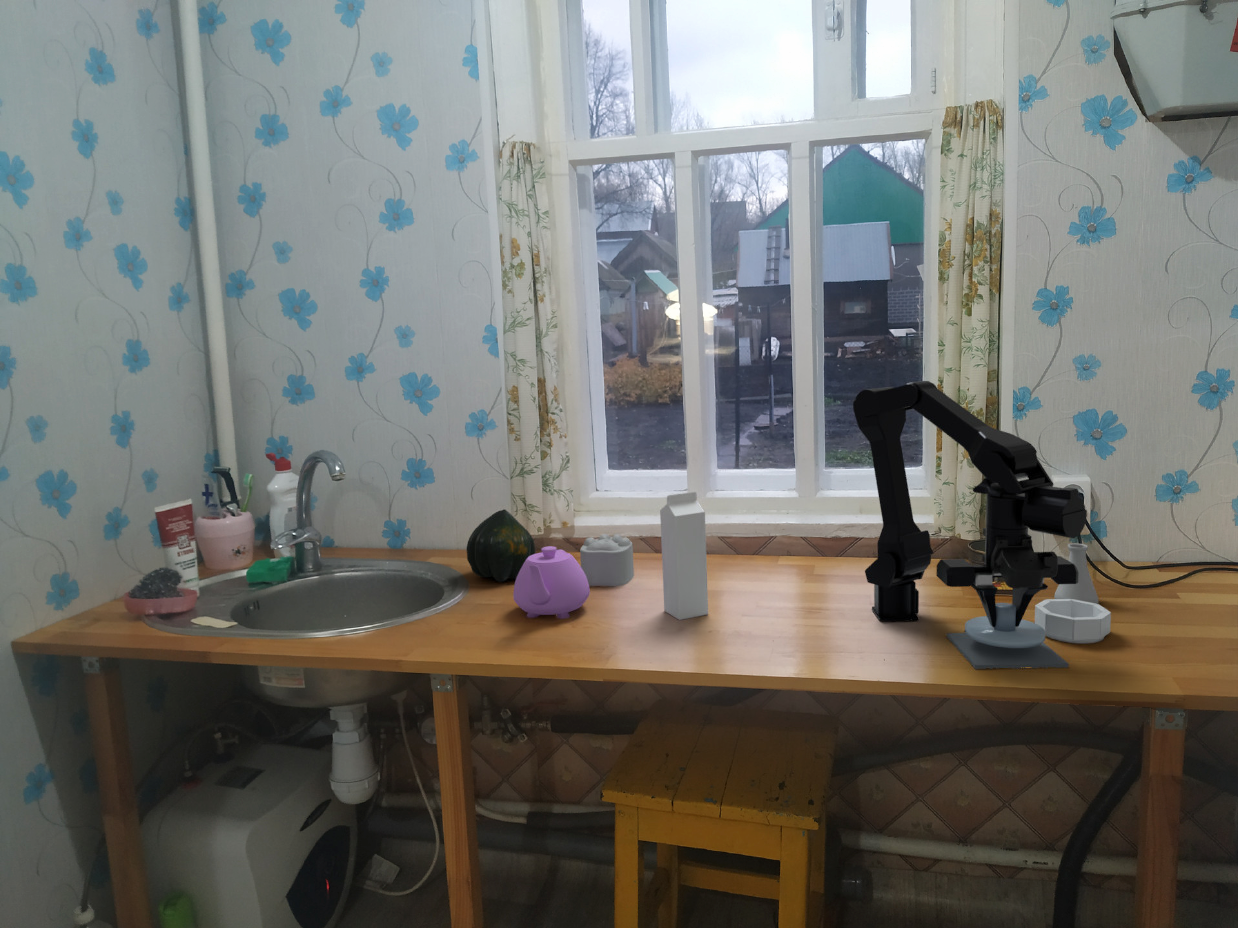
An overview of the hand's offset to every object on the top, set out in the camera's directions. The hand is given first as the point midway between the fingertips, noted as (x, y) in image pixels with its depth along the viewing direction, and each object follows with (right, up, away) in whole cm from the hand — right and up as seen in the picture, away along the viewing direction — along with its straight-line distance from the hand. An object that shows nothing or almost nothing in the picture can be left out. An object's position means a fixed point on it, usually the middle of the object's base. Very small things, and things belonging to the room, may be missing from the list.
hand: (1004, 626), depth 125 cm
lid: (0, -1, 0) cm, 1 cm away
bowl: (+14, -2, +6) cm, 15 cm away
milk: (-46, -3, +25) cm, 53 cm away
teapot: (-71, -3, +29) cm, 77 cm away
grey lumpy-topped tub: (-60, 0, +50) cm, 78 cm away
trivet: (0, -4, 0) cm, 4 cm away
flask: (+23, 0, +22) cm, 31 cm away
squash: (-84, 0, +54) cm, 100 cm away
